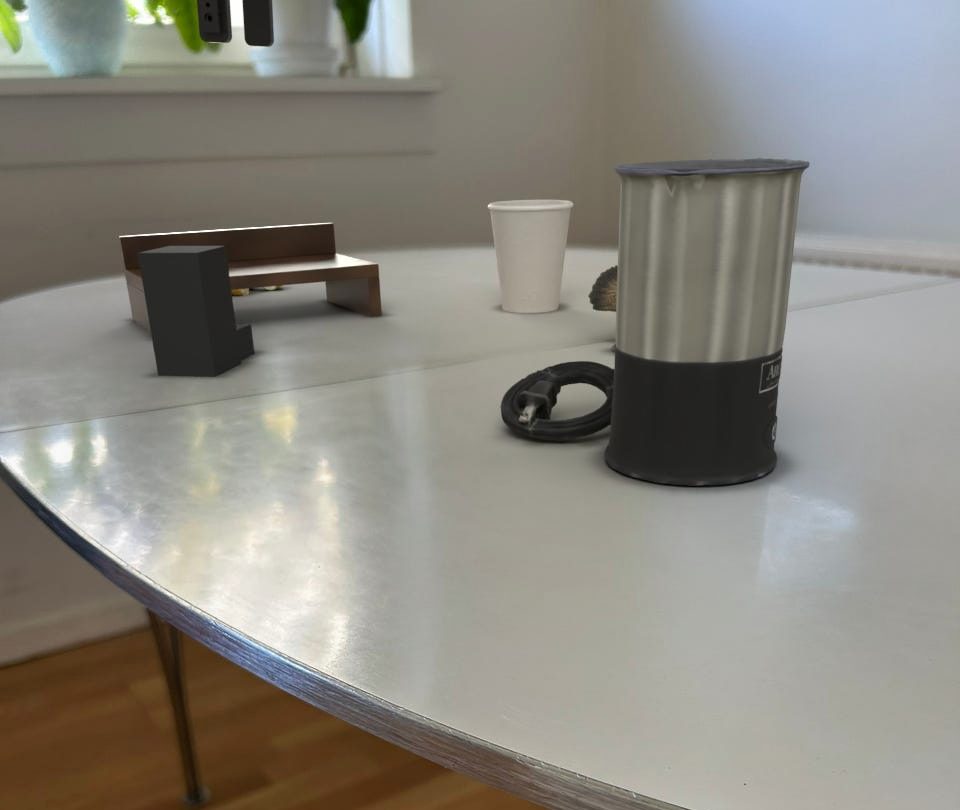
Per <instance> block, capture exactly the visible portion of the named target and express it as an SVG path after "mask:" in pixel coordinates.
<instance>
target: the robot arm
mask: <svg viewBox="0 0 960 810" xmlns="http://www.w3.org/2000/svg"><path fill="white" fill-rule="evenodd" d="M241 2H242V15H243V16H242V18H243V19H242V21H243V34H244V41H245V43H246V45H248V46H250V47H263V48H270V47H273V45H274V44H275V31H274V29H275V28H274V8H273V7H274V6H273V0H242V1H241ZM196 6H197V19H198V32H199V38H200V39H201V40H202V41H203V42H205V43H214V44H215V43H216V44H229V43H230V42H231V41H232V39H233V29H232V13H231V12H232V11H231V0H196Z"/></svg>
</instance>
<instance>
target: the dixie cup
mask: <svg viewBox="0 0 960 810" xmlns="http://www.w3.org/2000/svg"><path fill="white" fill-rule="evenodd" d="M572 208H574V203H573V202H572V201H571V200H566V199H565V200H564V199H516V200H501V201H493V202H490V203H489V204H488V205H487V209H488V210H489V213H490V220H491V221H490V222H491V228H492V237H493V244H494V245H493V246H494V253H495V260H496V267H497V274H498V275H497V276H498V282H499V290H500V299H501V306H502V310H503V311H504V312H508V313H518V314H537V313H538V314H539V313H548V312H553V311H556V310H558V309H559V304H560V297H561V290H562V289H561V288H562V281H563V273H564V265H565V256H566V249H567V242H568V235H569V224H570V218H571V209H572Z"/></svg>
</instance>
